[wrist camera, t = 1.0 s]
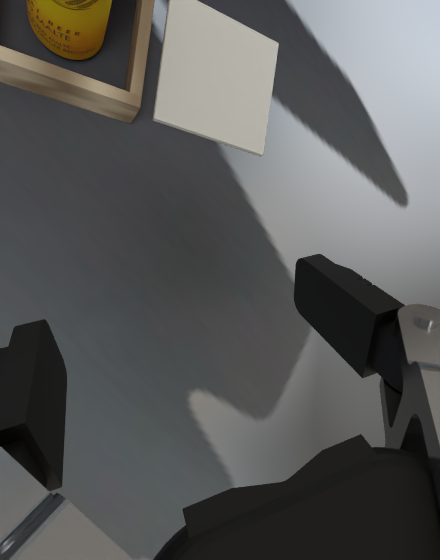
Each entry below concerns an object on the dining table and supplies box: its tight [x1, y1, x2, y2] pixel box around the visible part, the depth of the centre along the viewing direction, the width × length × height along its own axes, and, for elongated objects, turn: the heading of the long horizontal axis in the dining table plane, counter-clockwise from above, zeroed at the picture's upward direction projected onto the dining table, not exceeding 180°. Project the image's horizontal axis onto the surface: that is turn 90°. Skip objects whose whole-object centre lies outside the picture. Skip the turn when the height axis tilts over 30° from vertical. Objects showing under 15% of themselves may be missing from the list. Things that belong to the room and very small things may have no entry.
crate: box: [0, 0, 154, 124], centre depth 28 cm, size 13×13×4 cm
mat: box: [153, 0, 279, 156], centre depth 36 cm, size 13×13×1 cm
